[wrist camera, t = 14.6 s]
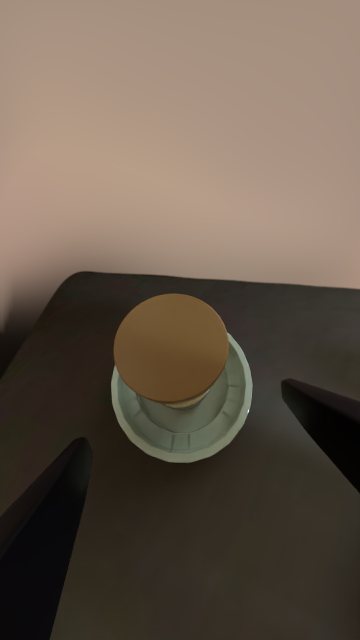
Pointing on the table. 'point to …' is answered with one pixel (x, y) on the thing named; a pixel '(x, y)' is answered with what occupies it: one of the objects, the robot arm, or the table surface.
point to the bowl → (188, 415)
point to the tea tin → (171, 350)
